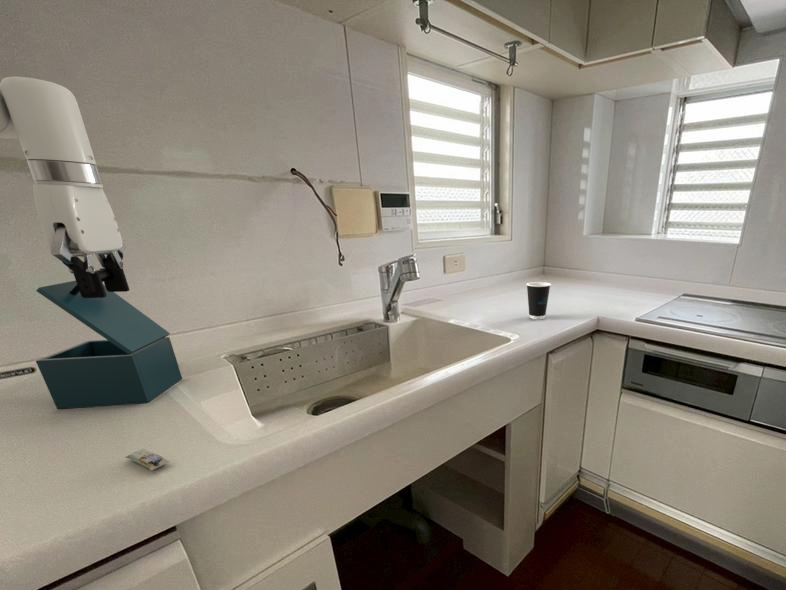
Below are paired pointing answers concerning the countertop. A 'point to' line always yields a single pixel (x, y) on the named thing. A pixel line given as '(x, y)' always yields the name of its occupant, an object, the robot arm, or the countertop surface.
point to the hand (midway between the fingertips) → (106, 293)
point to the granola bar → (147, 459)
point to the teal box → (109, 374)
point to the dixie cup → (537, 299)
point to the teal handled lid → (106, 315)
